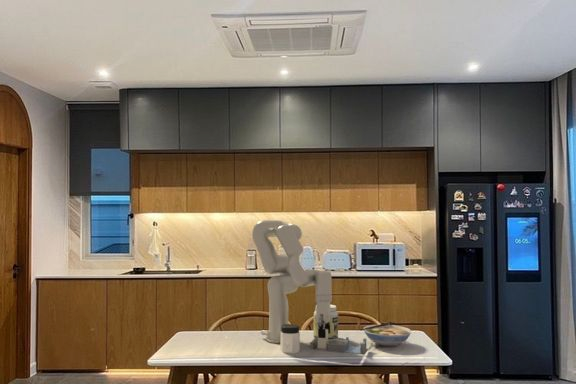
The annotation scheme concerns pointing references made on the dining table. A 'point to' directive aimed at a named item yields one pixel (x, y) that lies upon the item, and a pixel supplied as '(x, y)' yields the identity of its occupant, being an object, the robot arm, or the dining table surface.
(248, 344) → the dining table surface
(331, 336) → the supplement tub
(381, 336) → the ramen bowl
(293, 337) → the jar
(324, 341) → the plug
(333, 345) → the grey tiered shelf stand
